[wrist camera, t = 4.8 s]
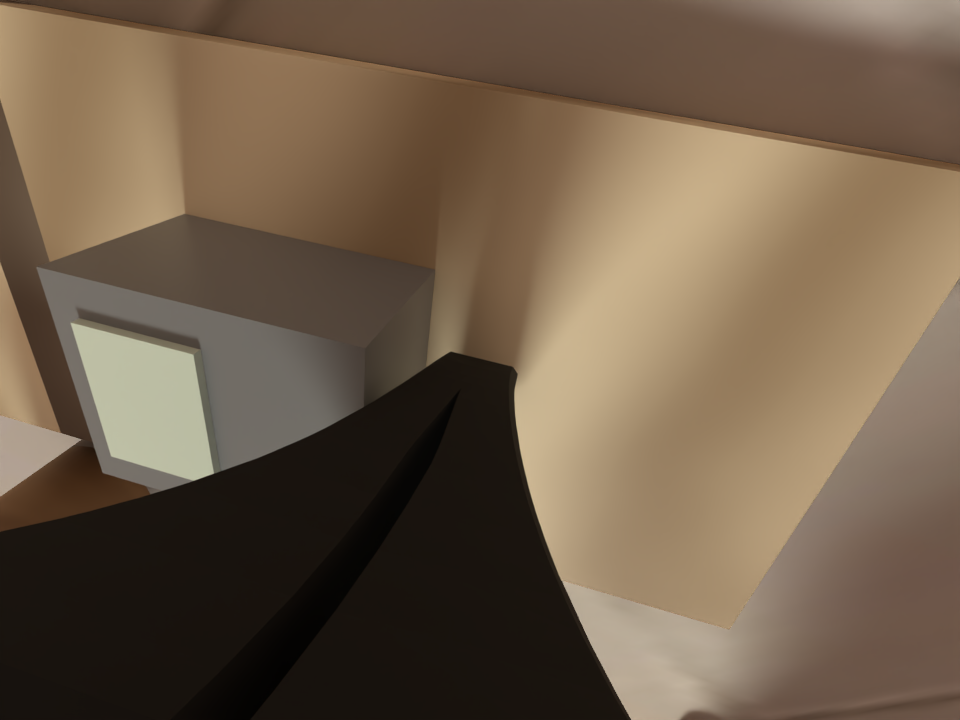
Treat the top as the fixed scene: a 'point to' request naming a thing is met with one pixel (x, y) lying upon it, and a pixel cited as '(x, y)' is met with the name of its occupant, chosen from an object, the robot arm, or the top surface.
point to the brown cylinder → (66, 490)
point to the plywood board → (513, 267)
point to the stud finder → (228, 342)
